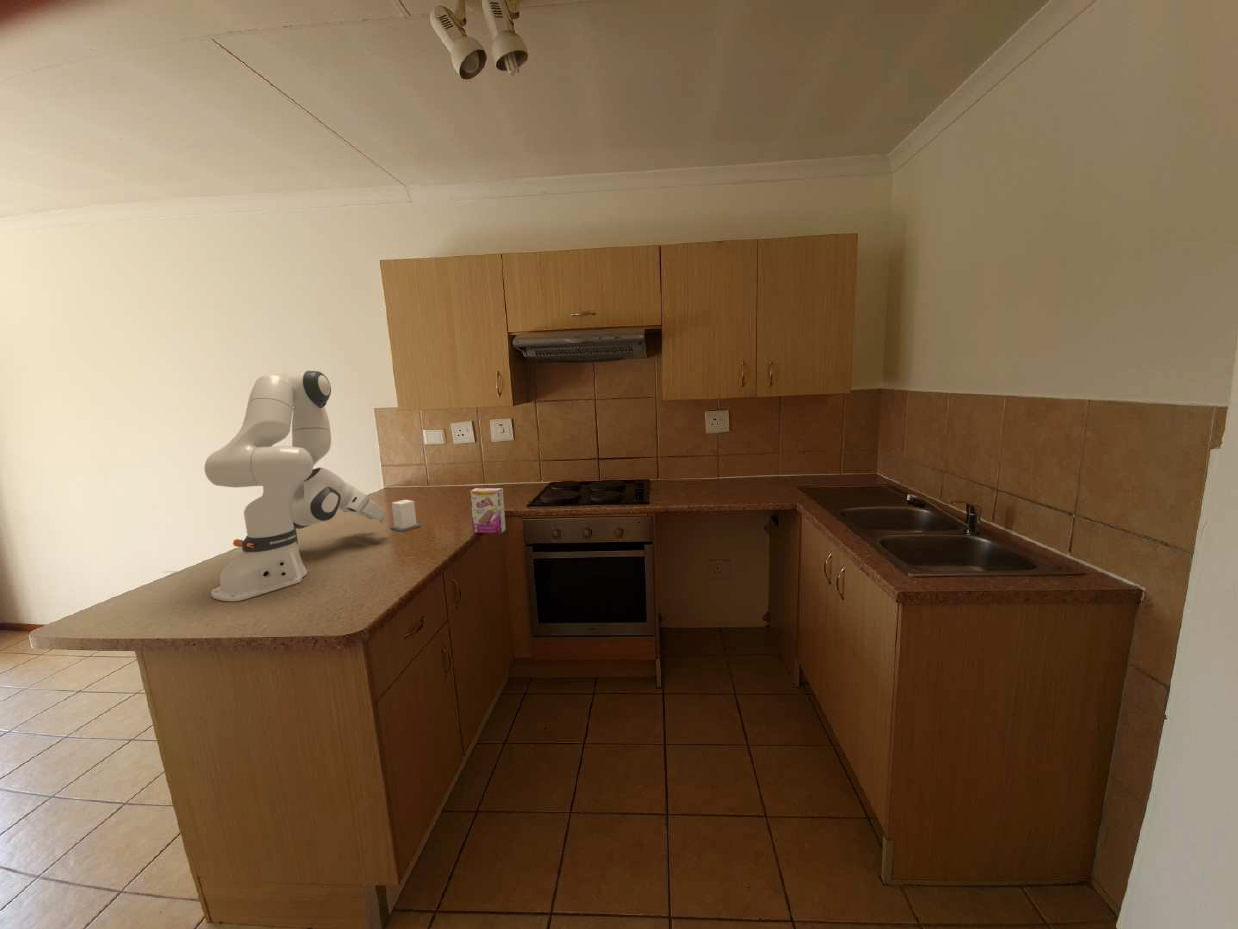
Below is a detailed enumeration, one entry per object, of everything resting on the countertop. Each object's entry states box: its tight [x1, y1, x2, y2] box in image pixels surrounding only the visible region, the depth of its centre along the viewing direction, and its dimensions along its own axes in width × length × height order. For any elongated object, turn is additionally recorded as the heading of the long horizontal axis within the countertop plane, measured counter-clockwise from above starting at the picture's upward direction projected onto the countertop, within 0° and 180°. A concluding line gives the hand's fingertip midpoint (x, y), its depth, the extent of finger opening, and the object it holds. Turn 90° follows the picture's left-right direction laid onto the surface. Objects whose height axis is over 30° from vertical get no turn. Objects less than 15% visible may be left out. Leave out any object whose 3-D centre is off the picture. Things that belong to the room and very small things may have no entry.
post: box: [389, 523, 422, 533], centre depth 190 cm, size 8×8×8 cm
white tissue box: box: [391, 499, 418, 529], centre depth 189 cm, size 6×6×10 cm
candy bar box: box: [469, 487, 507, 535], centre depth 180 cm, size 11×5×16 cm, turn 84°
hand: (378, 519), depth 181 cm, fingers open, 8 cm apart
